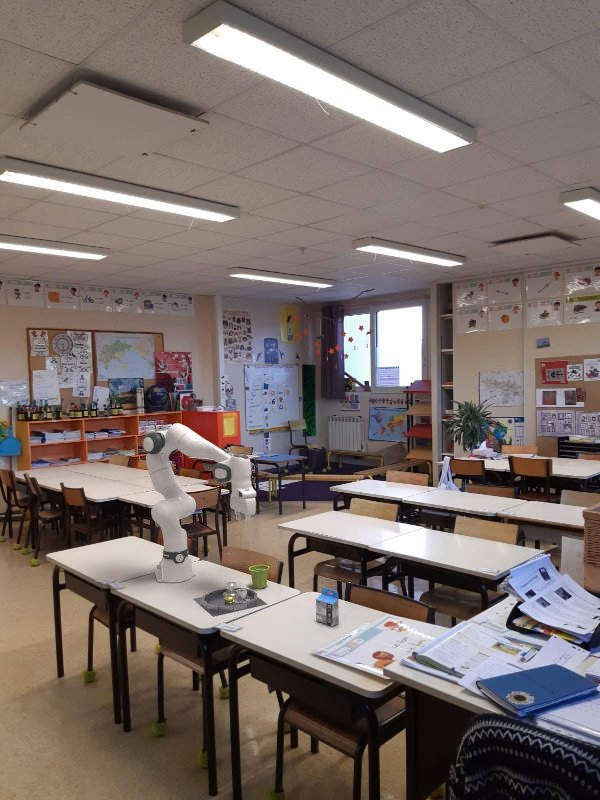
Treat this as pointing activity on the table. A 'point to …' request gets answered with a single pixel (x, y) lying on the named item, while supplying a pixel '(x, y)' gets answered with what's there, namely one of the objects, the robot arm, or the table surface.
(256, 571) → the plant pot
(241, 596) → the planet gear
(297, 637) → the table surface
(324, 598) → the label tape box
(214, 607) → the carrier
